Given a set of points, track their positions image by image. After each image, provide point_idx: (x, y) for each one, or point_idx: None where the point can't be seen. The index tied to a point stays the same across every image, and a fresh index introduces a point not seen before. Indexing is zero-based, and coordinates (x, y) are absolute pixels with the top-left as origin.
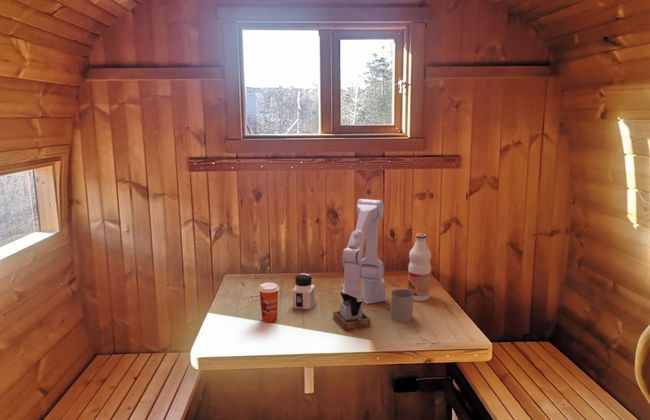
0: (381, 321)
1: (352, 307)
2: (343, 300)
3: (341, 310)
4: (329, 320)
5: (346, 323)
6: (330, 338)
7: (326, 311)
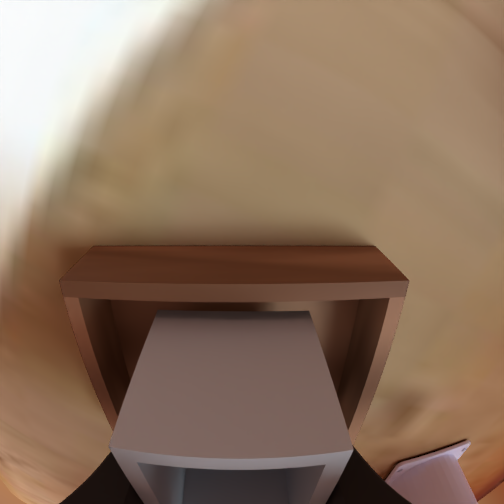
0: None
1: (82, 485)
2: (378, 479)
3: (278, 369)
4: (365, 197)
5: (63, 287)
6: (22, 74)
7: (495, 251)
